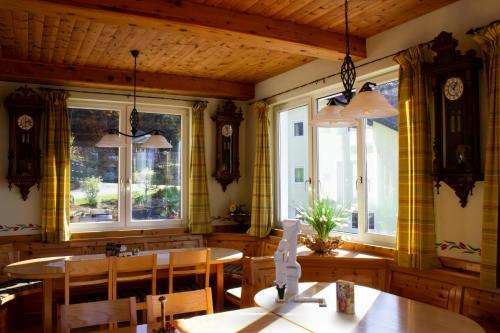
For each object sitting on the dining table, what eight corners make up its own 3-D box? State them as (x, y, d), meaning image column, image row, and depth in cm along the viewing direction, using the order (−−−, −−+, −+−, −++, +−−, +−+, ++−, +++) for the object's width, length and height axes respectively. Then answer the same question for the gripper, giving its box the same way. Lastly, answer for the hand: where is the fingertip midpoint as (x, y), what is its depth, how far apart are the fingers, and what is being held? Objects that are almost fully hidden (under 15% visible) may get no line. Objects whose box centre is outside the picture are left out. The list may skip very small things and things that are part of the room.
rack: (292, 299, 240) (292, 294, 240) (324, 299, 238) (324, 294, 238) (292, 306, 228) (292, 300, 228) (326, 306, 226) (326, 301, 226)
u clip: (278, 298, 238) (277, 290, 238) (285, 298, 237) (285, 290, 237) (277, 301, 232) (277, 292, 232) (285, 301, 232) (284, 292, 232)
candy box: (355, 312, 215) (354, 282, 216) (350, 314, 213) (349, 283, 213) (341, 308, 222) (340, 279, 223) (336, 310, 219) (335, 280, 220)
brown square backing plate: (275, 300, 239) (275, 298, 239) (288, 300, 238) (287, 298, 238) (274, 304, 231) (274, 302, 231) (287, 304, 230) (287, 303, 230)
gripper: (274, 270, 243) (274, 293, 242) (273, 276, 228) (273, 301, 228) (286, 270, 242) (287, 294, 242) (286, 276, 227) (286, 301, 227)
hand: (281, 297), depth 235 cm, fingers closed on u clip, 5 cm apart
